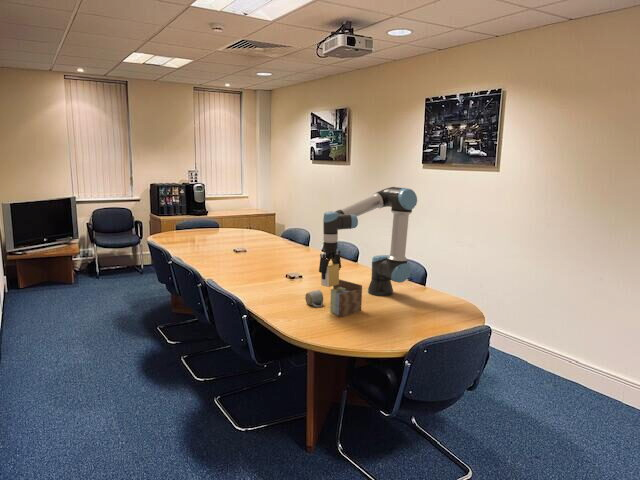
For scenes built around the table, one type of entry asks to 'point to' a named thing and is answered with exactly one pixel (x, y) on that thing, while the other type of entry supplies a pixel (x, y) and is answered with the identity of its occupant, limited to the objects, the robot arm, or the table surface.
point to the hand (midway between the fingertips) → (330, 283)
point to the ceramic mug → (314, 298)
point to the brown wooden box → (346, 298)
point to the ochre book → (332, 275)
